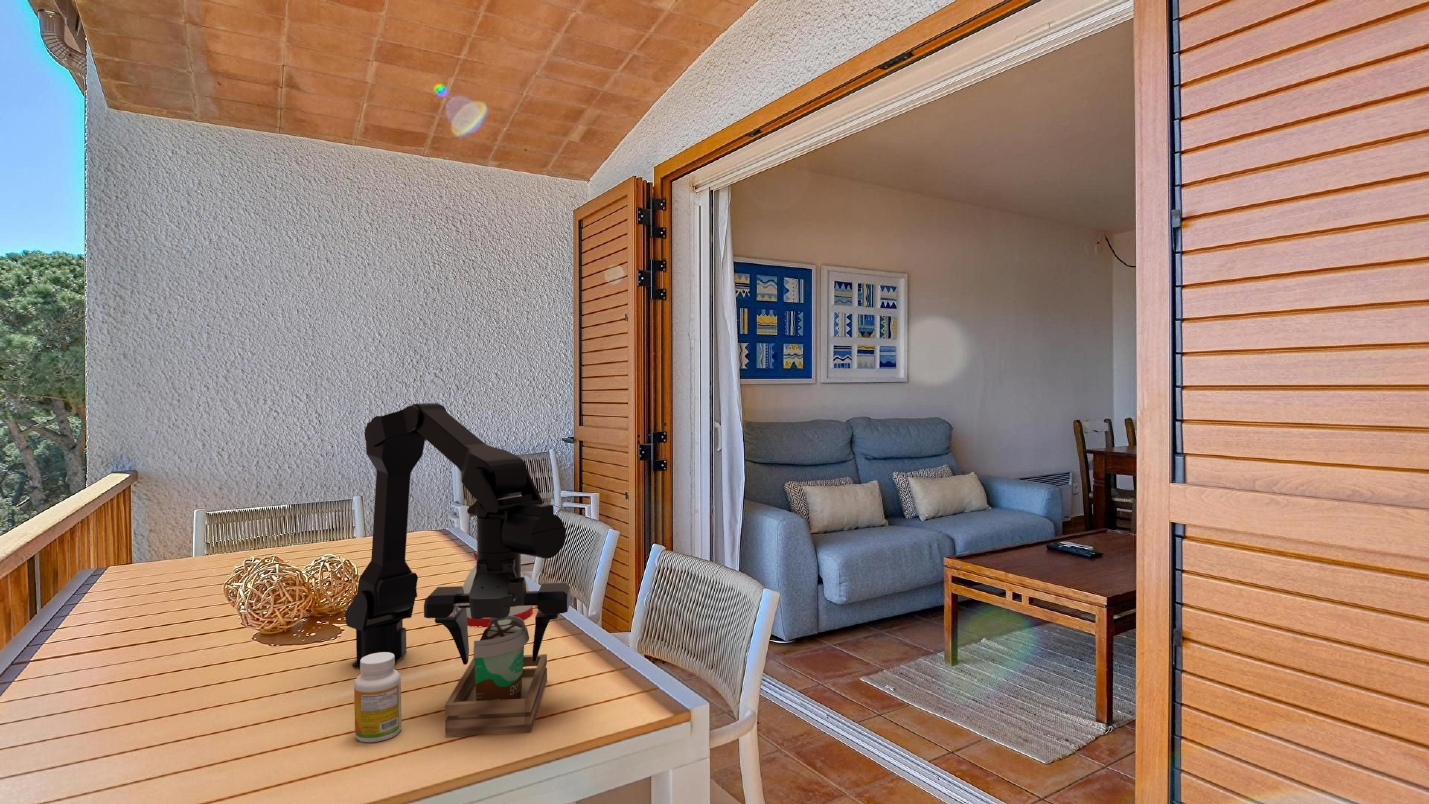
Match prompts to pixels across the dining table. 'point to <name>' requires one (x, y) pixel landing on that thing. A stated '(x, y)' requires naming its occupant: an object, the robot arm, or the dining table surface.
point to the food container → (500, 659)
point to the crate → (496, 704)
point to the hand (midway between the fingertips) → (500, 662)
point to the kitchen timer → (517, 611)
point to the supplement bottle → (377, 698)
